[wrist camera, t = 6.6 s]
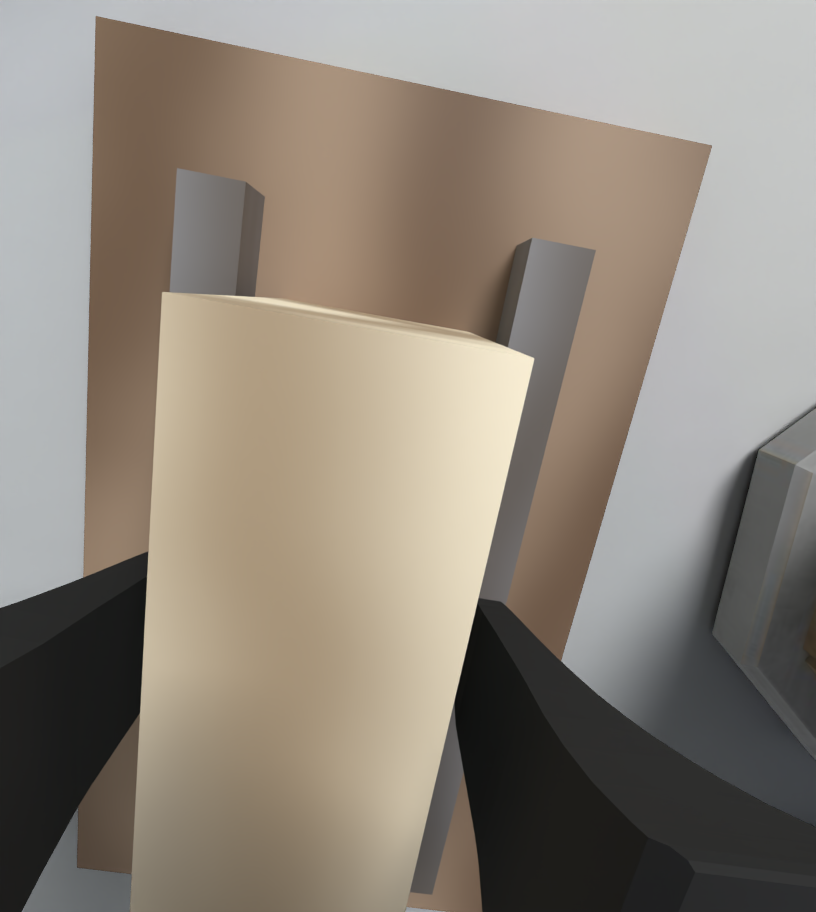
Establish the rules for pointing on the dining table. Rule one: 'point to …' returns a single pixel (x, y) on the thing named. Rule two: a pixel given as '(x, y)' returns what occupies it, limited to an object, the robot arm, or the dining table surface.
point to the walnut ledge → (376, 302)
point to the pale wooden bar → (308, 596)
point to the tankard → (777, 581)
